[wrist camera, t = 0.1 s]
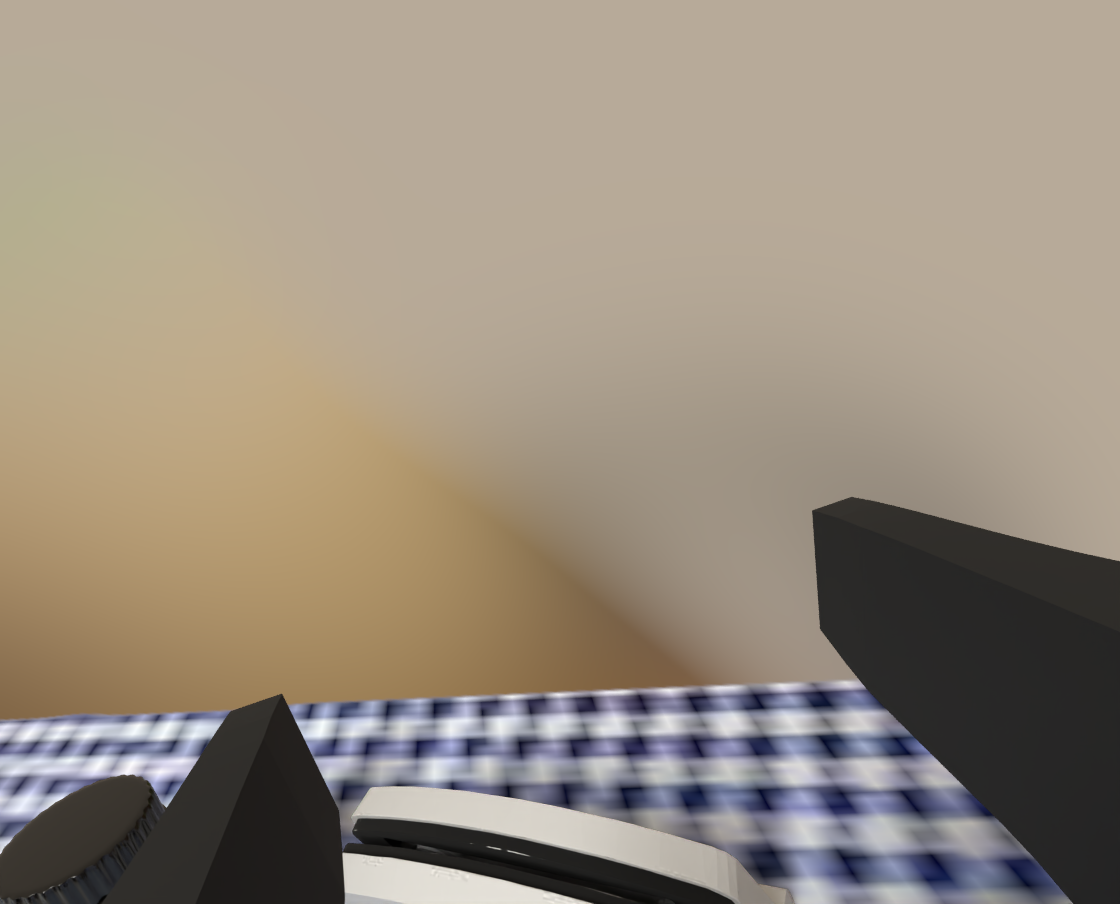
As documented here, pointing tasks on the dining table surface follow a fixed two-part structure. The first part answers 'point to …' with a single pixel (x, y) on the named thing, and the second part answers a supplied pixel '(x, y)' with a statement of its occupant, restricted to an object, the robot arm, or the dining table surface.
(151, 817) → the supplement bottle
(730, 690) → the dining table surface
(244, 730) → the robot arm
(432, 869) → the white angular device
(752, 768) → the dining table surface
